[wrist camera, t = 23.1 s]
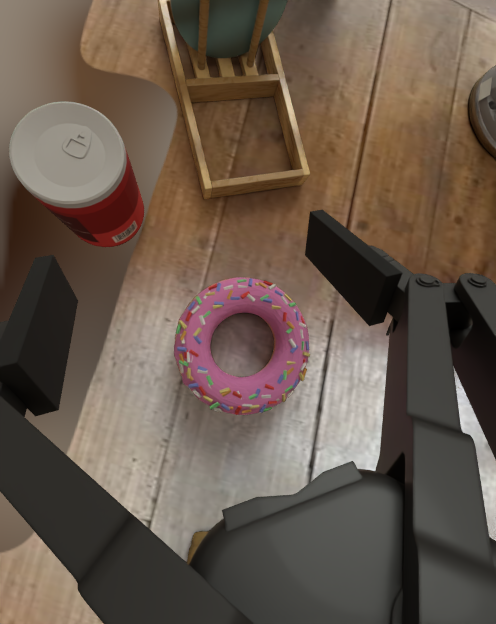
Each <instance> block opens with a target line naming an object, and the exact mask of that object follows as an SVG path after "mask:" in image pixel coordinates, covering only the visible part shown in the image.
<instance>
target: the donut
mask: <svg viewBox="0 0 496 624" xmlns="http://www.w3.org/2000/svg"><path fill="white" fill-rule="evenodd" d="M236 313H252V314H256V315H258V316H260V317H261V318H262V319H264V320H265V321H266V323H267V324H268V325H269V327H270V329H271V331H272V333H273V337H274V349H273V353H272V356H271V359H270V360H269V362H268V364H267V365H266V366H265V367H264V368H263V369H262V370H261V371H259V372H258V373H256V374H254V375H251V376H247V377H235V376H232V375H229V374H226V373H225V372H223V371H222V370H221V369H220V368H219V367H218V366H217V365H216V364H215V362H214V360H213V357H212V355H211V350H210V343H211V339H212V335H213V333H214V330H215V329H216V328H217V326H218V325H219V324H220V323H221V322H222V321H223V320H224V319H225V318H227V317H229V316H231V315H233V314H236ZM174 356H175V358H176V361H177V365H178V368H179V371H180V373H181V376H182V378H183V380H182V382H183V383H184V385H186V386H188V387H189V388H190V390H191V391H192V392H193V393H194V395H195V396H196V397H197V398H198V399H199V400H200V401H202V402H204V403H206V404H207V405H209V407H210V409H213V410H215V411H218V412H222V411H223V412H226V413H231V414H236V415H248V414H254V413H259V412H261V413H263V412H265V411H268V410H270V409H272V407H273V406H275V405H277V404H280V403H281V402H282V401H283V402H284V401H286V398H287V397H289V396H290V395H291V394H292V393H293V392H294V389H295V388H296V386H297V385H298V383H299V381H300V380H301V381H303V380H304V377H305V374H306V371H307V369H306V368H305V367H306V364H307V361H308V357H309V356H310V354H309V334H308V330H307V326H306V323H305V320H304V318H303V316H302V314H301V312H300V310H299V309H298V307H297V306H296V303H294V302H293V301H292V299H291V298H290V297H289V296H288V295H287V294H286V293H284V292H283V291H282V290H281V289H279V288H278V287H276V284H275V283H274V284H273V283H270V282H267V281H265V280H264V281H261V280H258V279H252V278H231V279H226V280H222V281H220V282H217V283H215V284H213V285H211V286H209V287H207V288H206V289H204V290H203V291H202V292H200V293H199V294H198V295H197V296H196V297H195V298H194V299H193V300H192V301H191V302H190V303H189V305H188V306H187V308H186V309H185V311H184V313H183V314H182V316H181V317H180V319H179V322H178V327H177V331H176V337H175V345H174Z"/></svg>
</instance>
